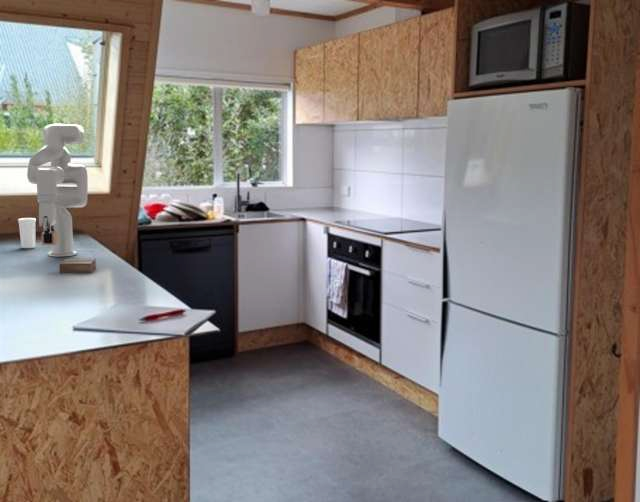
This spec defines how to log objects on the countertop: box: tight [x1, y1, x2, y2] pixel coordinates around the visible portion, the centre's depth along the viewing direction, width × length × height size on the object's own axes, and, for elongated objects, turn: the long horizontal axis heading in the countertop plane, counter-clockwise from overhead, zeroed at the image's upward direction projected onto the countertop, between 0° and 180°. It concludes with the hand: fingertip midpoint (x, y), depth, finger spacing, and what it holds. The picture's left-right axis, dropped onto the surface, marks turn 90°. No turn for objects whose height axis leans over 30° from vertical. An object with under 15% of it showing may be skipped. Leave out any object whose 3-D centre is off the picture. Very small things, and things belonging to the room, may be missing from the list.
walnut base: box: [58, 257, 97, 274], centre depth 273 cm, size 12×12×4 cm
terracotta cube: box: [40, 231, 57, 246], centre depth 275 cm, size 5×5×5 cm
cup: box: [17, 217, 37, 249], centre depth 322 cm, size 8×8×14 cm
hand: (49, 241), depth 275 cm, fingers closed on terracotta cube, 4 cm apart
